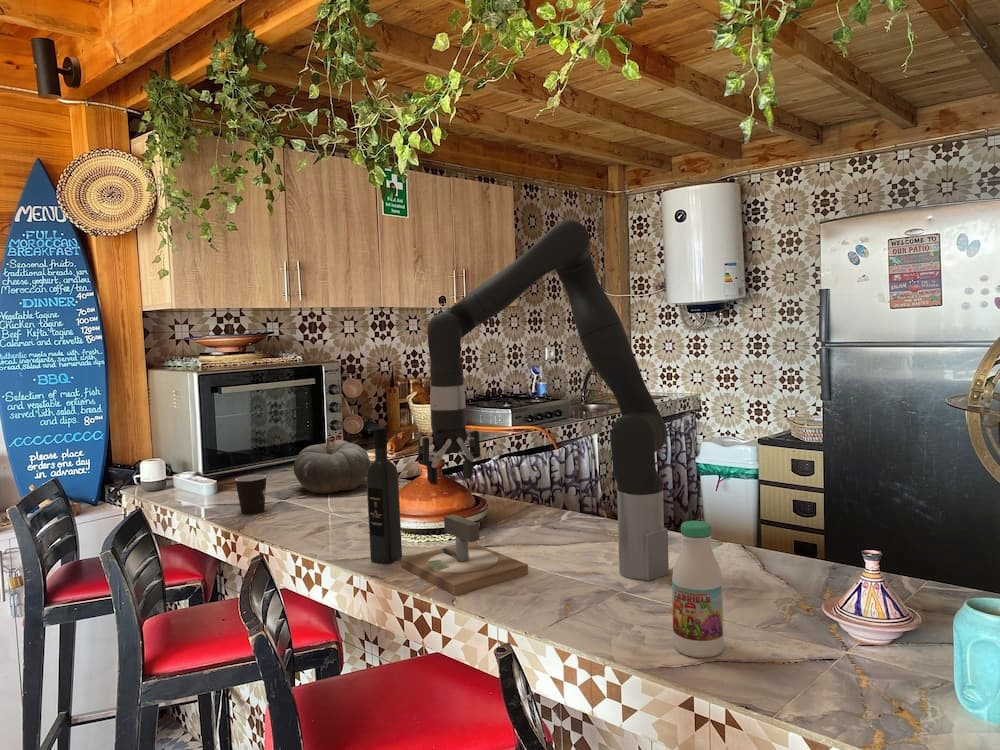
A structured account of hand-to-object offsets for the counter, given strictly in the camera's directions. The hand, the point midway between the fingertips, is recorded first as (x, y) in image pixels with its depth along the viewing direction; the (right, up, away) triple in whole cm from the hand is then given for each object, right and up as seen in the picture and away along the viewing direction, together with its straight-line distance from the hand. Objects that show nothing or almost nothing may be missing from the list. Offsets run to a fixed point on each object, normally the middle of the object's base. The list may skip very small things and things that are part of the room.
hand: (450, 481), depth 159 cm
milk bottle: (+42, -20, -42) cm, 63 cm away
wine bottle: (-15, -19, +8) cm, 25 cm away
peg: (+2, -16, -1) cm, 16 cm away
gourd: (-44, -15, +83) cm, 95 cm away
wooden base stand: (+3, -19, -2) cm, 19 cm away
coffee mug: (-61, -17, +58) cm, 86 cm away
